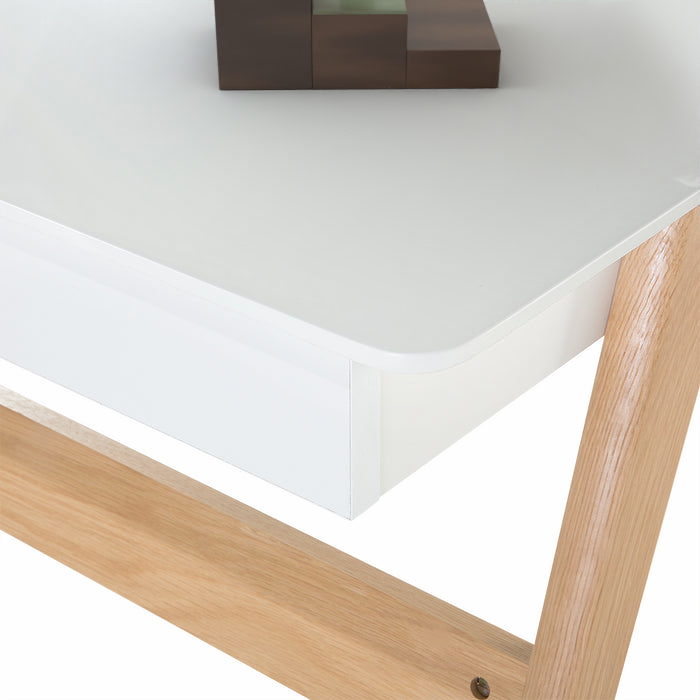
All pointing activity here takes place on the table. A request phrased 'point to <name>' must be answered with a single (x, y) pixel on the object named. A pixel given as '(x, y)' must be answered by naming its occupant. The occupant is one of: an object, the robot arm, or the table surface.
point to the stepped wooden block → (355, 44)
